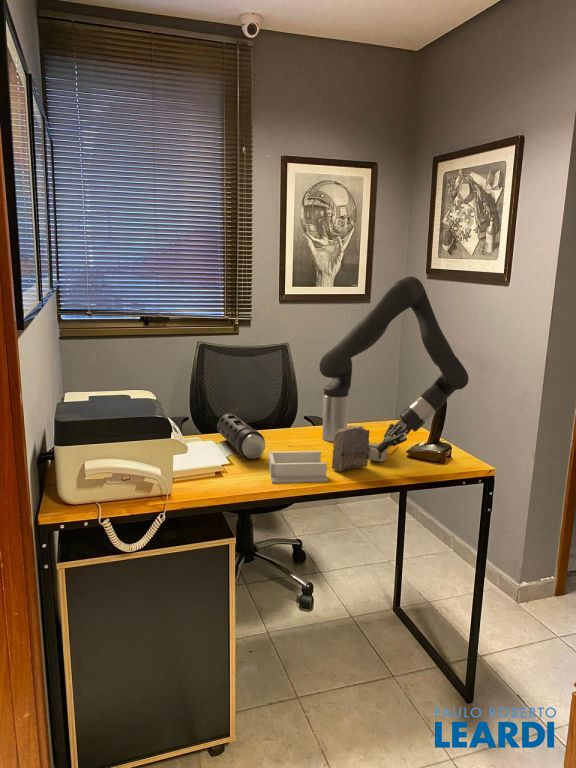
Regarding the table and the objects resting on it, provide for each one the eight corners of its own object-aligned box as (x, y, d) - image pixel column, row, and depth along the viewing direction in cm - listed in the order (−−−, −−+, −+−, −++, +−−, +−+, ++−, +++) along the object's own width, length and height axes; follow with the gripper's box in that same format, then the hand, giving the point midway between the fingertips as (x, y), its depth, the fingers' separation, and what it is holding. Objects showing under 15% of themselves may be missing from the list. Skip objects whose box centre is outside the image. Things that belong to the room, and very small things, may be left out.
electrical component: (382, 452, 214) (383, 439, 214) (398, 455, 212) (399, 441, 211) (364, 459, 192) (366, 444, 192) (382, 462, 190) (383, 447, 189)
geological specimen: (358, 464, 191) (360, 421, 188) (369, 470, 186) (371, 425, 182) (331, 469, 186) (332, 425, 182) (341, 475, 180) (343, 429, 177)
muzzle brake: (240, 438, 218) (240, 411, 216) (267, 461, 193) (267, 431, 191) (216, 440, 214) (216, 413, 212) (240, 464, 189) (240, 434, 187)
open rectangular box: (268, 464, 189) (268, 451, 188) (319, 463, 191) (320, 450, 190) (272, 483, 173) (272, 469, 172) (328, 482, 175) (328, 468, 174)
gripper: (403, 401, 190) (365, 437, 191) (416, 411, 177) (375, 449, 178) (418, 416, 191) (380, 451, 192) (432, 427, 178) (391, 465, 180)
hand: (378, 450), depth 185 cm, fingers closed
